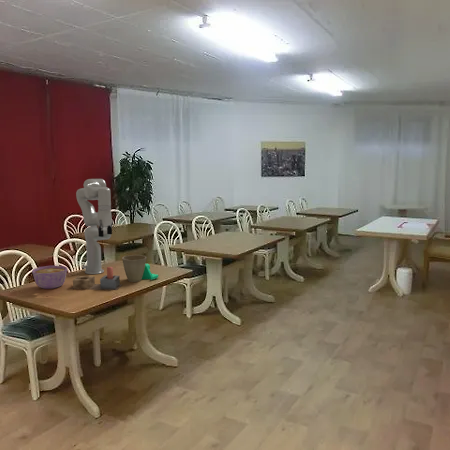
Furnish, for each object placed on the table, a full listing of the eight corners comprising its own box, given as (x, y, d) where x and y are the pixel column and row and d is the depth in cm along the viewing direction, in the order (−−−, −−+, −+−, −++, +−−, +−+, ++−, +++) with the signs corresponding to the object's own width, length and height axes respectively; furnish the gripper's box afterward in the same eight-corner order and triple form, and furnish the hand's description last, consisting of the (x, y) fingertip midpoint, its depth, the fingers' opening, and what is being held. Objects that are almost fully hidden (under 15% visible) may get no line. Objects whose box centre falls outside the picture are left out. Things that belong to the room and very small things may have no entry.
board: (70, 290, 276) (70, 288, 276) (78, 285, 288) (78, 283, 288) (117, 292, 274) (117, 290, 274) (122, 286, 286) (122, 284, 286)
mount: (73, 288, 277) (72, 280, 276) (78, 284, 286) (78, 276, 285) (89, 288, 277) (89, 280, 276) (94, 284, 286) (94, 276, 285)
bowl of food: (75, 286, 285) (74, 268, 283) (48, 294, 268) (47, 275, 266) (53, 281, 295) (52, 264, 293) (25, 289, 278) (24, 270, 276)
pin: (106, 287, 279) (105, 267, 278) (109, 286, 283) (108, 266, 281) (111, 287, 278) (110, 268, 277) (114, 286, 282) (113, 267, 280)
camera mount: (159, 278, 305) (159, 263, 304) (151, 281, 299) (151, 265, 297) (145, 276, 312) (145, 261, 310) (137, 278, 305) (137, 263, 304)
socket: (100, 289, 276) (100, 279, 275) (105, 284, 285) (104, 275, 284) (115, 289, 276) (115, 279, 275) (119, 285, 285) (119, 275, 284)
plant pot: (122, 285, 288) (121, 260, 286) (123, 279, 303) (122, 255, 300) (146, 284, 291) (146, 259, 288) (146, 278, 305) (146, 254, 303)
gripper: (106, 206, 297) (107, 232, 300) (91, 209, 281) (92, 237, 283) (117, 206, 295) (117, 233, 297) (102, 209, 279) (103, 238, 281)
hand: (105, 235), depth 290 cm, fingers open, 9 cm apart
